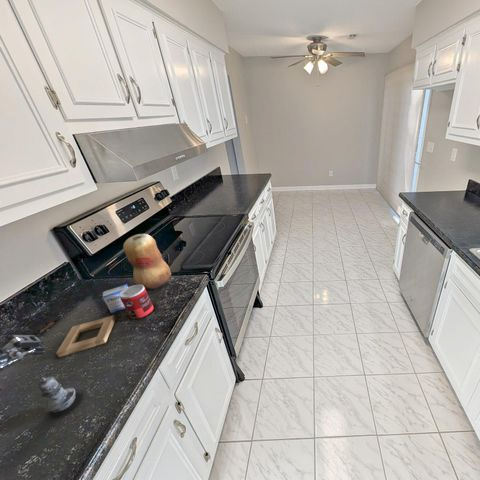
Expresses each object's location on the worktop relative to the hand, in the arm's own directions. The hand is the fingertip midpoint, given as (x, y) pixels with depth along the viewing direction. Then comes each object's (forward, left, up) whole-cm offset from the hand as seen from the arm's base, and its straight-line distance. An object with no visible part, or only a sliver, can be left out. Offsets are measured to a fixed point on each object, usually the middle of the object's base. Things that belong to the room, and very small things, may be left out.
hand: (20, 367), depth 56 cm
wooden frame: (-4, +31, -19) cm, 37 cm away
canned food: (+11, +37, -20) cm, 43 cm away
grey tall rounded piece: (-1, +4, -20) cm, 20 cm away
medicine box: (+3, +45, -20) cm, 49 cm away
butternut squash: (+14, +55, -20) cm, 60 cm away
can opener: (-22, +43, -19) cm, 51 cm away
